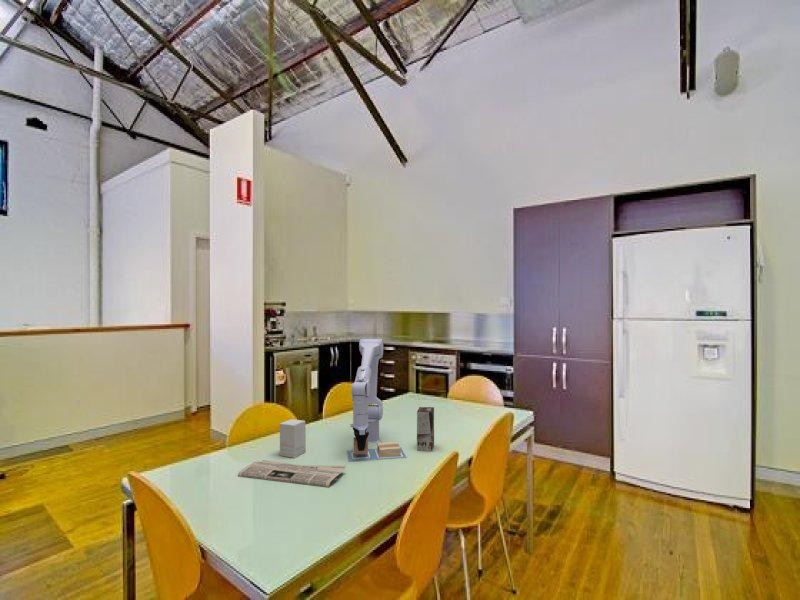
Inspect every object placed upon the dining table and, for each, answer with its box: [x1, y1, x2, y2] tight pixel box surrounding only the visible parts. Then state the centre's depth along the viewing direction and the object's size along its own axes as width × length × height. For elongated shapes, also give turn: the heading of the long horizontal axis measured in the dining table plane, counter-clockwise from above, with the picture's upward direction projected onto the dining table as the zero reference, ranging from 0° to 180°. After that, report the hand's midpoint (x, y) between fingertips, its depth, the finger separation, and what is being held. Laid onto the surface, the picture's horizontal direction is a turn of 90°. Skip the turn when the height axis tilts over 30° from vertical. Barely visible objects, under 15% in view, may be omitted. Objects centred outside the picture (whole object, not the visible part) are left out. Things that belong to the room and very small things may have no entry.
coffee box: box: [416, 406, 435, 453], centre depth 168 cm, size 9×6×16 cm
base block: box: [376, 441, 402, 458], centre depth 162 cm, size 8×8×3 cm
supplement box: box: [279, 418, 307, 459], centre depth 163 cm, size 7×7×13 cm
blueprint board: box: [346, 446, 408, 463], centre depth 161 cm, size 12×22×1 cm, turn 100°
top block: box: [353, 436, 369, 454], centre depth 160 cm, size 5×5×5 cm
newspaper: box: [237, 459, 347, 488], centre depth 143 cm, size 35×12×4 cm, turn 75°
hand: (360, 448), depth 160 cm, fingers closed on top block, 5 cm apart
